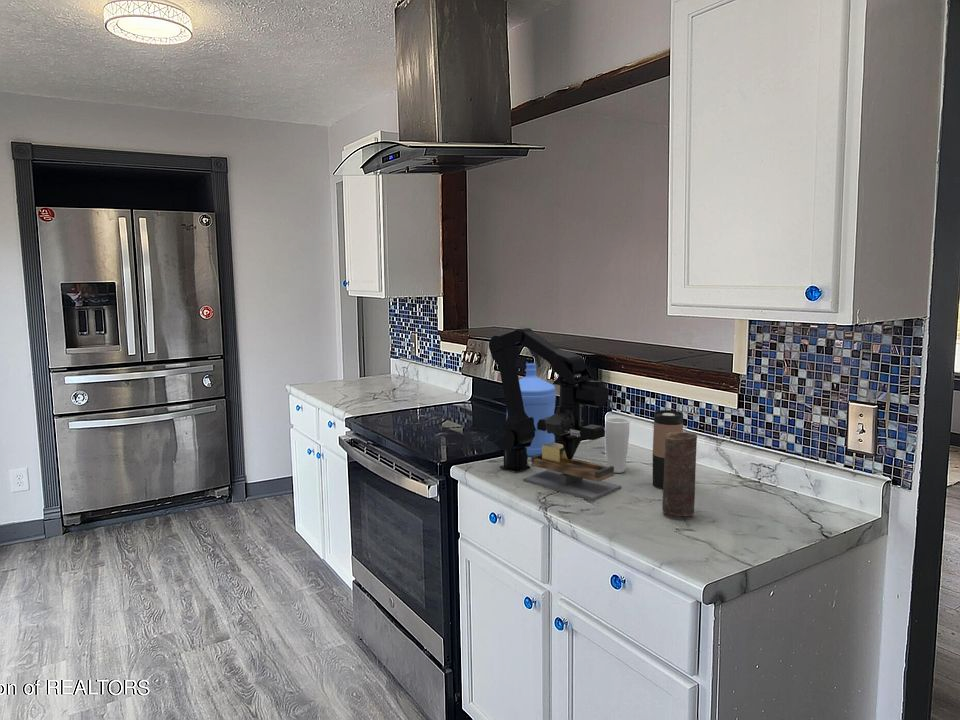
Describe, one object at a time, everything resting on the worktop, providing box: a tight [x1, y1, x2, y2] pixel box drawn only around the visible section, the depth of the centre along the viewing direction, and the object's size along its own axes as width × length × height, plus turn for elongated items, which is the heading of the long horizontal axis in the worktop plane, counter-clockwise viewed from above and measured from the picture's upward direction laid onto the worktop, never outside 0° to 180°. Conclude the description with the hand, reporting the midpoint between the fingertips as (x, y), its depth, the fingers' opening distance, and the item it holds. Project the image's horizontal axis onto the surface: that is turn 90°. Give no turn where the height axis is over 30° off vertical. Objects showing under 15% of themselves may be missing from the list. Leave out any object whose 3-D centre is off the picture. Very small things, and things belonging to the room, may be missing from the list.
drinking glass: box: [604, 417, 630, 474], centre depth 200 cm, size 7×7×15 cm
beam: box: [531, 454, 615, 482], centre depth 188 cm, size 22×7×2 cm, turn 46°
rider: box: [542, 442, 569, 465], centre depth 191 cm, size 6×4×5 cm
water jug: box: [505, 362, 557, 457], centre depth 221 cm, size 16×16×28 cm
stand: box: [522, 469, 622, 502], centre depth 188 cm, size 23×13×4 cm, turn 46°
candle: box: [661, 431, 698, 517], centre depth 164 cm, size 8×7×20 cm
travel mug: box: [652, 409, 684, 490], centre depth 186 cm, size 8×8×20 cm
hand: (569, 459), depth 188 cm, fingers closed
